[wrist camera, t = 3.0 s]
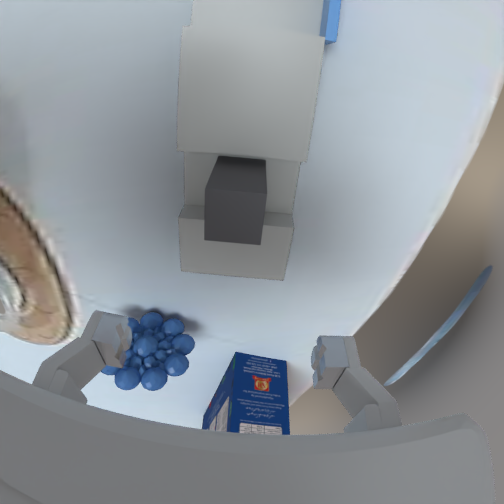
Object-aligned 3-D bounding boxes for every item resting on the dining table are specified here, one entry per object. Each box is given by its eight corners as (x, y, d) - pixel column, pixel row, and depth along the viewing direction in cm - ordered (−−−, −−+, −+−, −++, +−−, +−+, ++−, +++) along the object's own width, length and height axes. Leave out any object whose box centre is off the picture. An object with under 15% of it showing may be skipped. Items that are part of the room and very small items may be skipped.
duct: (188, 257, 32) (181, 278, 29) (206, -72, 12) (199, -87, 9) (287, 266, 32) (289, 288, 30) (336, -60, 13) (346, -74, 10)
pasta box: (238, 421, 59) (232, 534, 37) (203, 415, 58) (191, 530, 36) (286, 360, 43) (291, 540, 21) (235, 351, 42) (223, 541, 20)
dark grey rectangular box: (216, 197, 27) (204, 240, 21) (218, 155, 24) (204, 188, 19) (260, 201, 27) (260, 245, 21) (265, 159, 24) (267, 193, 19)
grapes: (119, 324, 40) (94, 393, 30) (115, 292, 36) (81, 367, 26) (196, 341, 41) (183, 416, 31) (200, 311, 37) (185, 394, 27)
